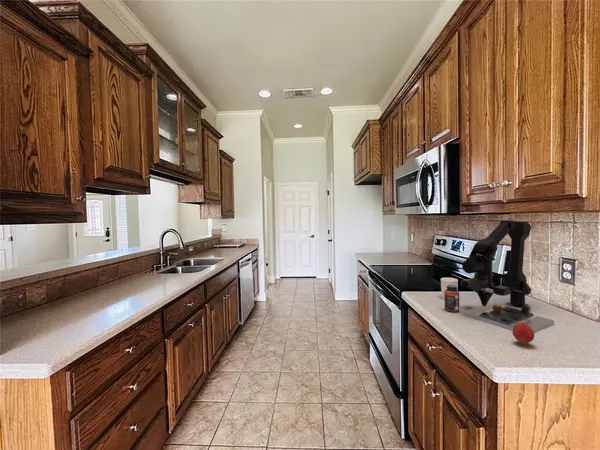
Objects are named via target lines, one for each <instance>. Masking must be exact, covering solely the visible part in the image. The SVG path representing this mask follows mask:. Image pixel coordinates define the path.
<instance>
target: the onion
mask: <svg viewBox="0 0 600 450" xmlns="http://www.w3.org/2000/svg"><path fill="white" fill-rule="evenodd" d="M512 335H513V337H514V339H516V341H517V342H519V343H520V344H521V345H523V346H525V345H528V344H530V343H531V342H533V341H534V339H535V332H533V330H532V329H531V328H530V327H529V326H528V325H527V324H526V323H525V322H524V321H523V322H522V323H519V324H517V325H516V326H515V327H514V328H513V331H512Z"/></svg>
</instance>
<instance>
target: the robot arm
mask: <svg viewBox="0 0 600 450" xmlns="http://www.w3.org/2000/svg"><path fill="white" fill-rule="evenodd" d="M531 230H532V225H531V224H530V223H529V222H528V221H525V220H524V221H523V220H522V221H521V220H520V221H518V220H511V219H502V220H500V221H499V224H498V225H497V226H496V227H495V228H494V229H493V230H492V231H491V233H490V234H488V236H487V237H485V238H482V239H479V241H477V242H476V243H475V244H474V245H473V248H472V249H471V251H470V253H469V255H468V257H466V259H465V260H464V261H463V262H462V264H461V268H462V271H463V272H465V274H468V275H470V274H474V276H473V277H472V278H471V279H470V278H466V279H462V280H461V281H460V287H463V288H469V290H472V291H473V292H475V293H476V294H477V296H478V297H479V301H480V302H481V306H486V305H487V304H489V302H490V300H491V298H492V296H493V295H494V294H495V295H497V296H501V297H505V296H508V295H509V301H508V302H506V305H509V306H512V307H513V306H514V307H516V308H520V309H521V306H523V305H524V306H528V307H530V304H528V303H526V295H528V296H530V294H531V292H532V287H530V285H529V284H528V283H527V277H526V274H525V273H524V271H523V270H524V268H523V267H524V257H525V256H524V254H525V244H526V243H525V242H526V240H527V239H528V237H529V236H530V234H531ZM507 235H508V237H509V239H510V241H511V243H510V256H509V269H508V271H507V272H506V273H504V274H503V280H502V282H503V285H497V286H495V282H493V277H495V273H493V261H496V258H495V257H494V255H495V253H496V252H497V251H498V245H499V243H500V242H501V241H502V240H503V239H504V238H505V237H506V236H507Z"/></svg>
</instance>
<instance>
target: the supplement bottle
mask: <svg viewBox="0 0 600 450" xmlns="http://www.w3.org/2000/svg"><path fill="white" fill-rule="evenodd" d="M444 310H445V311H447V312H451V313H457V312H459V311H460V292H459V290H457V286H455V285H447V290H445V299H444Z"/></svg>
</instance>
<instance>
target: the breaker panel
mask: <svg viewBox="0 0 600 450" xmlns="http://www.w3.org/2000/svg"><path fill="white" fill-rule="evenodd" d="M493 304H494V303H487V305H486V306H483V305H481V306H477V307H474V308H471V309H466V310H463V312H462V315H463V316H466V317H468V318H471V319H475V320H478V321H482V322H484V323H488V324H491V325H494V326H498V327H500V328H504V329H507V330H509V331H512V332H513V328H514V327H515V326H516V325H517V324H519V323H522V322H523V321H524V322H525V323H526V324H527V325H528V326H529V327H530V328H531V329H532V330H533V332H534V333H536V332H538V331H540V330H543V329H545V328H548V327H550V326H553V325H555V320H553V319H550V318H547V317H544V316H538V315H535V314H534V313H533V312H531V306H524V305H523V306H521V308H520V309H517V308H514V307H511V306H510V307H509V306H506V305H505V306H501V311H500V312H497V311H494V310H493Z"/></svg>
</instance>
